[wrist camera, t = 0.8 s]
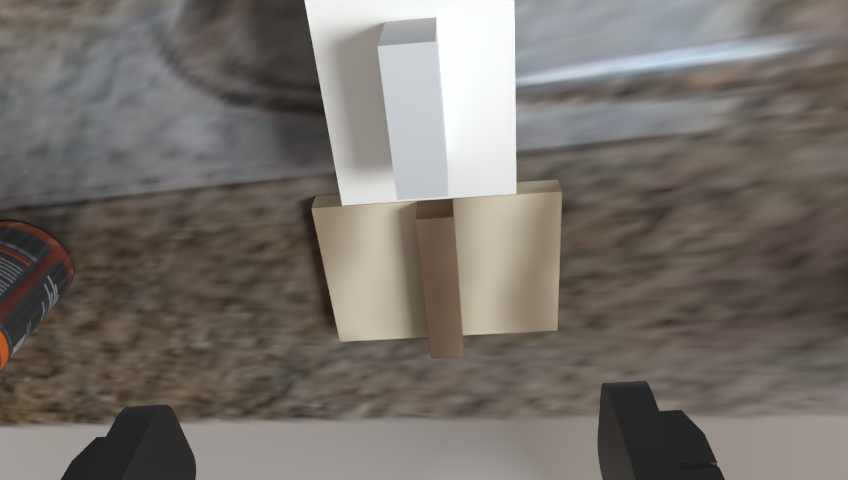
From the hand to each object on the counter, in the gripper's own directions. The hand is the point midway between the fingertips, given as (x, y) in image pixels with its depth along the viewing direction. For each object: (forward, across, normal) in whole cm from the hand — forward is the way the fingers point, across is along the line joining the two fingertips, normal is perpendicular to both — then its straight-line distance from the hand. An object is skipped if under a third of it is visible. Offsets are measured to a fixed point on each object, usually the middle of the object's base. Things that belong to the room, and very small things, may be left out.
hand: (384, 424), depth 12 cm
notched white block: (+24, 0, 0) cm, 24 cm away
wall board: (+24, 0, +13) cm, 27 cm away
